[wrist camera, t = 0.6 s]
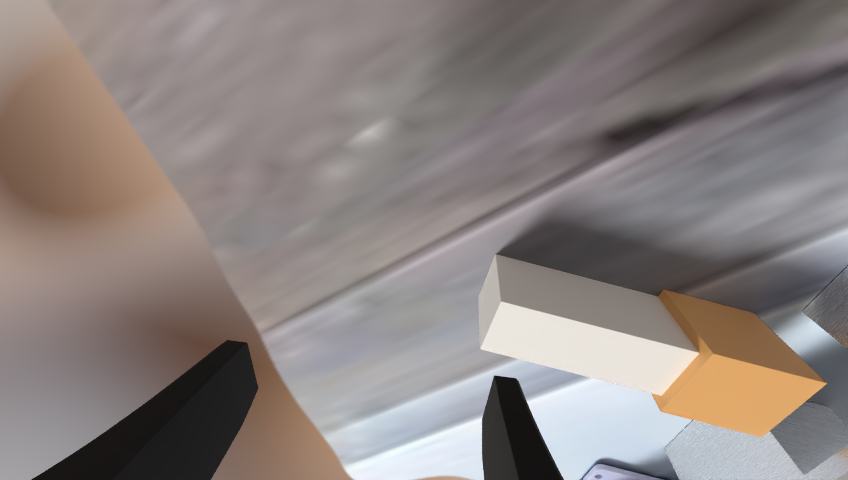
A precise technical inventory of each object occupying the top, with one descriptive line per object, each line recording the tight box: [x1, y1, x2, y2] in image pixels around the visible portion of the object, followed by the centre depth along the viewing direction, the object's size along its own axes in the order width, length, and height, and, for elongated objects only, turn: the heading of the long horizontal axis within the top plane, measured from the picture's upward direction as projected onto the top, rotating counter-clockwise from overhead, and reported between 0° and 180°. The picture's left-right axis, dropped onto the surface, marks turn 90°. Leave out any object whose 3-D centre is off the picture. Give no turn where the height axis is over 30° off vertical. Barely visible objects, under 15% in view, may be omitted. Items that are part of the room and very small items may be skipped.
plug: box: [479, 254, 827, 437], centre depth 18 cm, size 4×14×4 cm, turn 77°
